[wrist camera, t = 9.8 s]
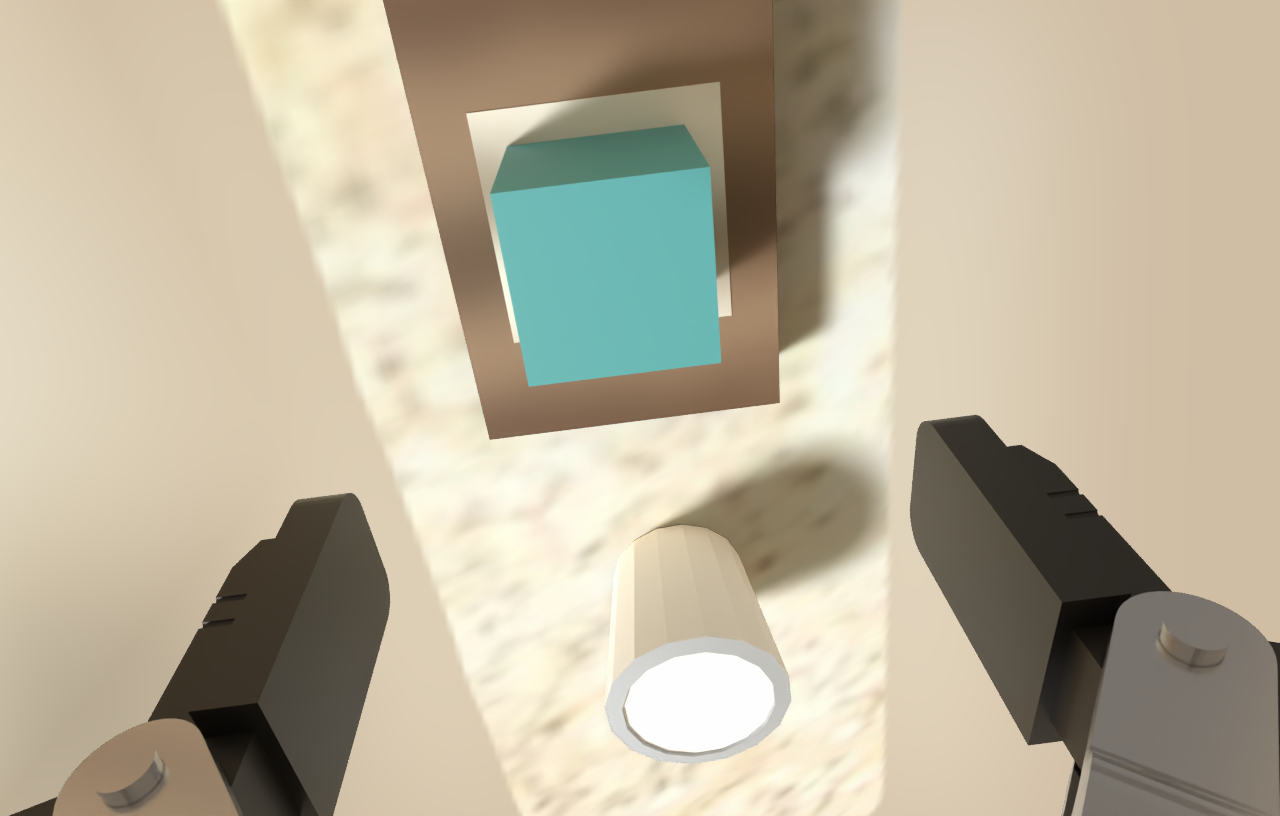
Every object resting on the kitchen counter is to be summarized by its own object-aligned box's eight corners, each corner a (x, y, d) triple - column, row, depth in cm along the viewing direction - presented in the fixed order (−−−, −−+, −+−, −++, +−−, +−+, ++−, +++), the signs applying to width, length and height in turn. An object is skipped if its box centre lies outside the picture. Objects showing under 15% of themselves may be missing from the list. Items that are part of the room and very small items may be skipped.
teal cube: (507, 146, 22) (489, 193, 18) (684, 124, 22) (710, 166, 18) (537, 310, 25) (528, 387, 20) (695, 290, 25) (721, 363, 20)
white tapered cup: (763, 511, 33) (805, 636, 27) (746, 629, 37) (780, 763, 31) (600, 514, 33) (606, 642, 27) (599, 633, 36) (603, 770, 30)
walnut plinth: (400, -28, 22) (376, -25, 20) (748, -71, 22) (771, -74, 20) (497, 396, 29) (489, 440, 27) (761, 363, 29) (780, 403, 27)
